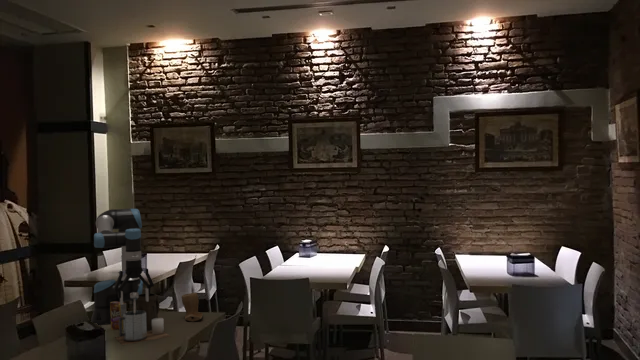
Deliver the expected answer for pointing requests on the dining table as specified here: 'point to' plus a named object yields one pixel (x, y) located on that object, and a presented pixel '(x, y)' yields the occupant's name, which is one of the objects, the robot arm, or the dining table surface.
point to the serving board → (149, 337)
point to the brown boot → (191, 307)
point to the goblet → (134, 299)
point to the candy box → (117, 314)
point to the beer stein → (149, 308)
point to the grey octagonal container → (133, 326)
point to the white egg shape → (157, 326)
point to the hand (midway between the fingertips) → (134, 302)
